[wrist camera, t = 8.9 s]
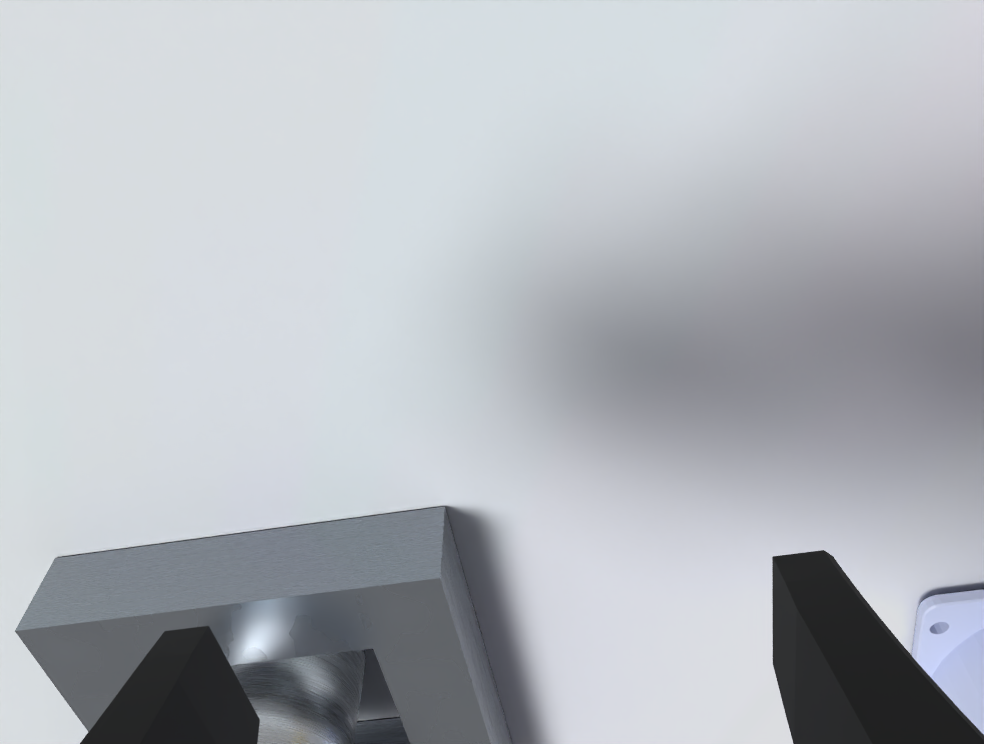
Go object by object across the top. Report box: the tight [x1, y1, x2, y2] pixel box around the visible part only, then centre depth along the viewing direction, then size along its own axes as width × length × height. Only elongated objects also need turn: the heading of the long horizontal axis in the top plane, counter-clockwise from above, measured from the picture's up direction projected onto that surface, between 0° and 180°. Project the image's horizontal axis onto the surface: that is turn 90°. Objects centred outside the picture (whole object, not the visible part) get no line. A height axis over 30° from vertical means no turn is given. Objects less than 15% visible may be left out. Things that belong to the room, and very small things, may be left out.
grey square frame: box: [15, 506, 512, 744], centre depth 26 cm, size 11×11×2 cm
